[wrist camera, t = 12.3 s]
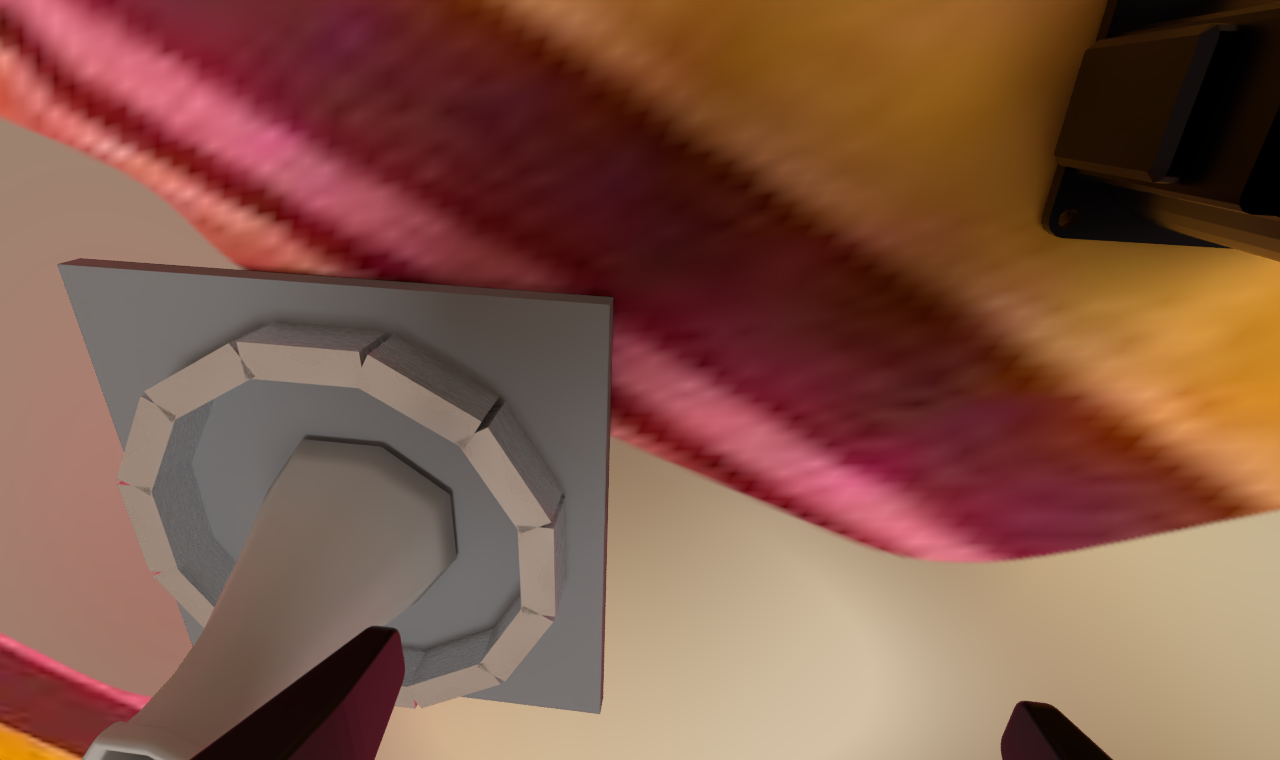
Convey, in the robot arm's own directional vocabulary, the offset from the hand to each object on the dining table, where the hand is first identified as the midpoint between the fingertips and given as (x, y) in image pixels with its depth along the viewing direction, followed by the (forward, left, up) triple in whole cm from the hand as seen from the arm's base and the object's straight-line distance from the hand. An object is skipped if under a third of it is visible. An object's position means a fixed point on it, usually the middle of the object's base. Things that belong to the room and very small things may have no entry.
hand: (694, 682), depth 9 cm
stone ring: (+12, +7, -12) cm, 18 cm away
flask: (+12, +7, -11) cm, 18 cm away
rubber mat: (+12, +7, -12) cm, 18 cm away
